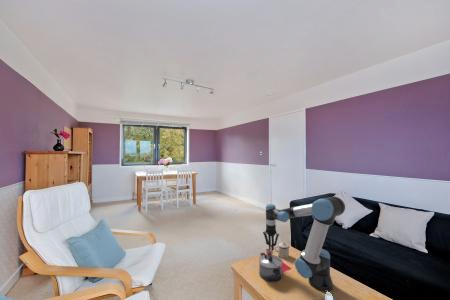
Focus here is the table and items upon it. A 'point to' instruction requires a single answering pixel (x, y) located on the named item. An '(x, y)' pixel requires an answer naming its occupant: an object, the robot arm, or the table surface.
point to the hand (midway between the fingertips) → (271, 253)
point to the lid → (270, 261)
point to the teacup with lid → (283, 250)
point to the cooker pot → (270, 273)
